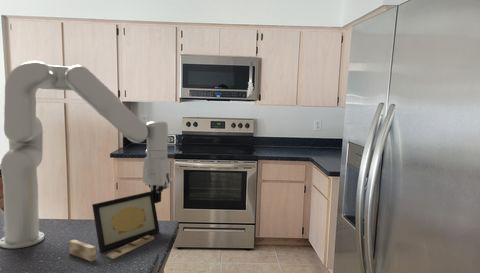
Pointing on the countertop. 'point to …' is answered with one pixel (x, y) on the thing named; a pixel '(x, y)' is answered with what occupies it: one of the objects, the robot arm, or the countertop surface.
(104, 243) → the picture frame
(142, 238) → the strip
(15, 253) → the countertop surface
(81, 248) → the block
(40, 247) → the countertop surface
